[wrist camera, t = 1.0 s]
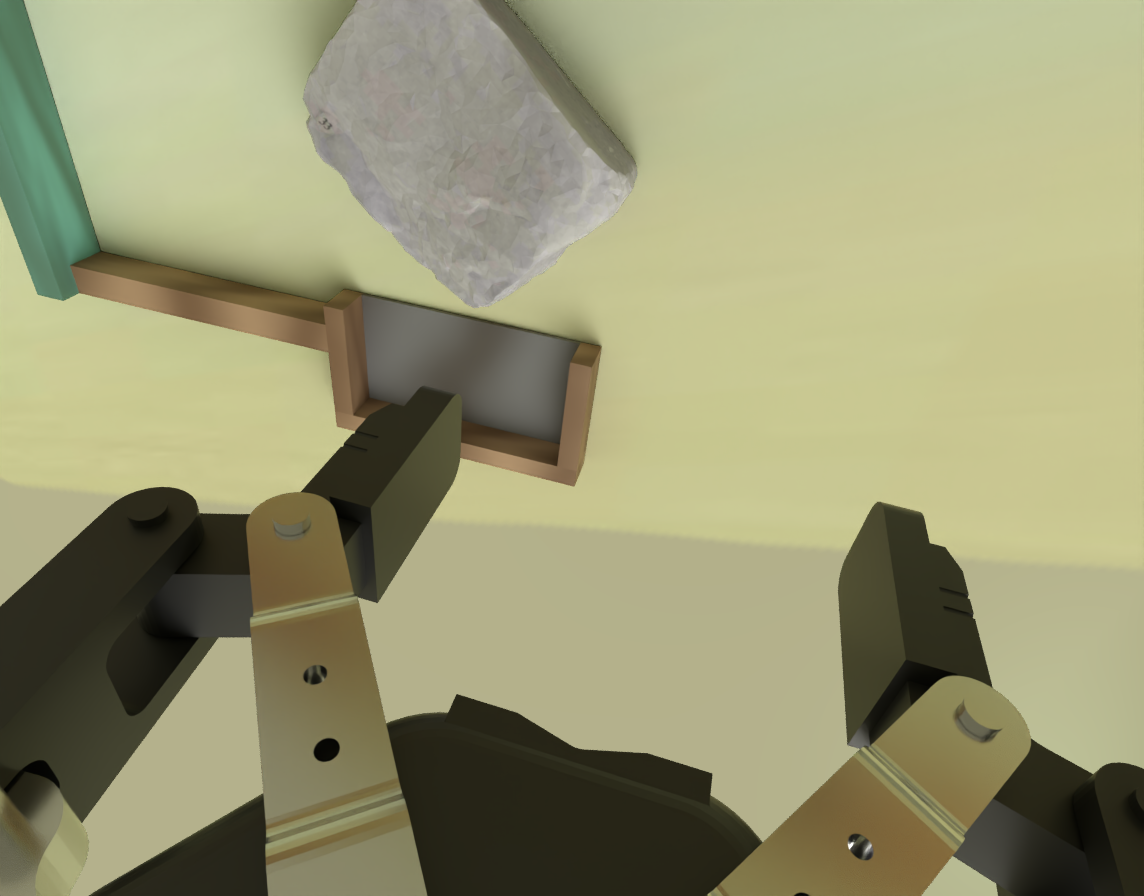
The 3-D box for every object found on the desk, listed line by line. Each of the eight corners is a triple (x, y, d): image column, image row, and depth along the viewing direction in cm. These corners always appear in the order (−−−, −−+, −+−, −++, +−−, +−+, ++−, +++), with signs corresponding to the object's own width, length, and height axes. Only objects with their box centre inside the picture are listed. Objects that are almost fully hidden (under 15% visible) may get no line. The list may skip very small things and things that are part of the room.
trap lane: (709, -351, 19) (697, -390, 17) (583, 463, 37) (569, 499, 35) (-147, -426, 23) (-252, -466, 21) (108, 345, 41) (66, 370, 38)
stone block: (522, 292, 34) (668, 162, 27) (473, 344, 31) (624, 212, 24) (338, 92, 32) (449, -111, 24) (263, 127, 28) (366, -95, 21)
